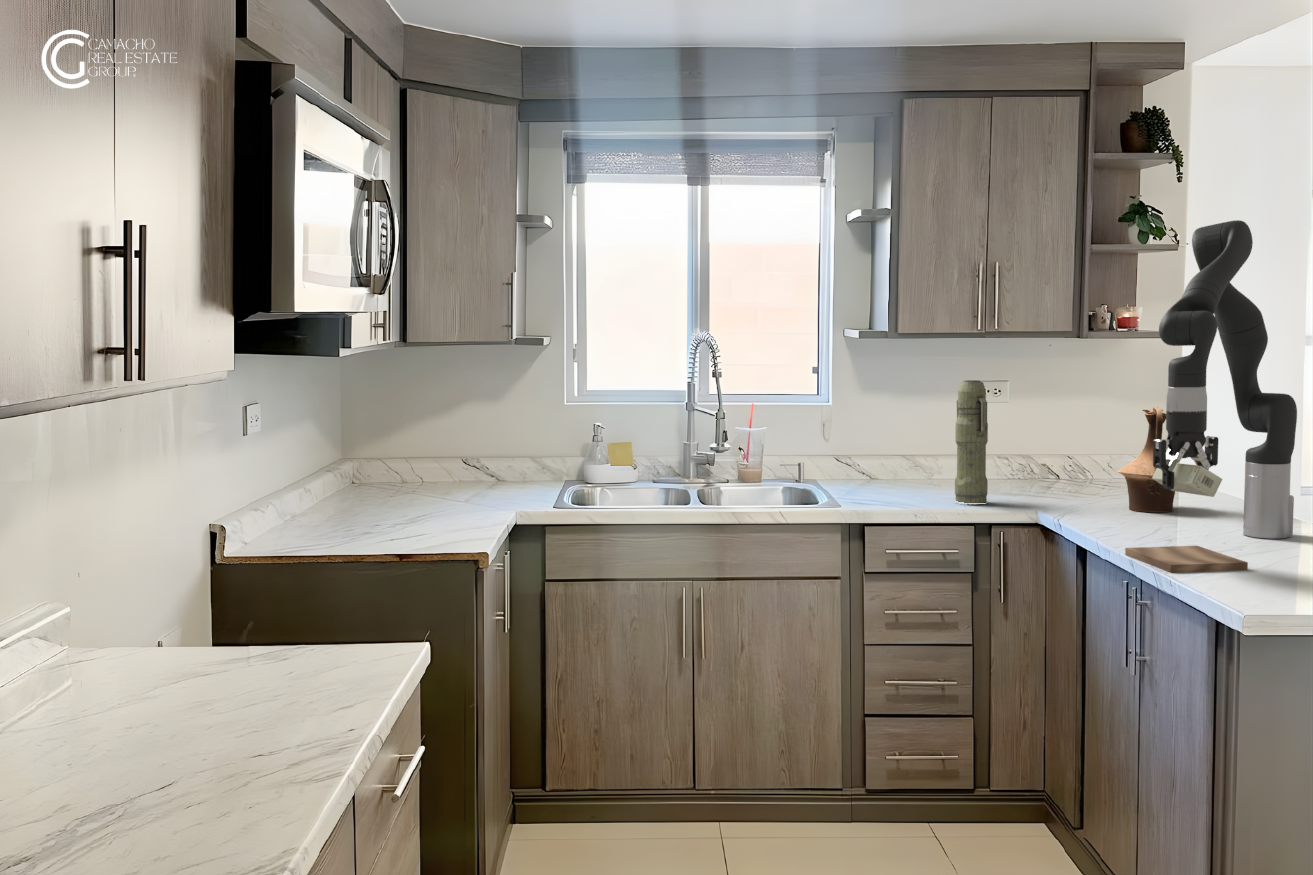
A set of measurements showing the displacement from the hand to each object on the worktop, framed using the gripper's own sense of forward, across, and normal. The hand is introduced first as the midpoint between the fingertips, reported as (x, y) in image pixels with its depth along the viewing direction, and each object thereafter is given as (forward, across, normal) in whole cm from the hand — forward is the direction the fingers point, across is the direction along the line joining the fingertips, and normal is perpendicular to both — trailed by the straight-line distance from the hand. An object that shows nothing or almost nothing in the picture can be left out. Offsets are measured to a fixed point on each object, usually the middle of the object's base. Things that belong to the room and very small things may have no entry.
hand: (1185, 487), depth 224 cm
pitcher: (+16, -38, -59) cm, 72 cm away
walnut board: (+15, 0, 0) cm, 15 cm away
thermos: (+16, 0, -87) cm, 88 cm away
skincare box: (-2, 0, +7) cm, 7 cm away
